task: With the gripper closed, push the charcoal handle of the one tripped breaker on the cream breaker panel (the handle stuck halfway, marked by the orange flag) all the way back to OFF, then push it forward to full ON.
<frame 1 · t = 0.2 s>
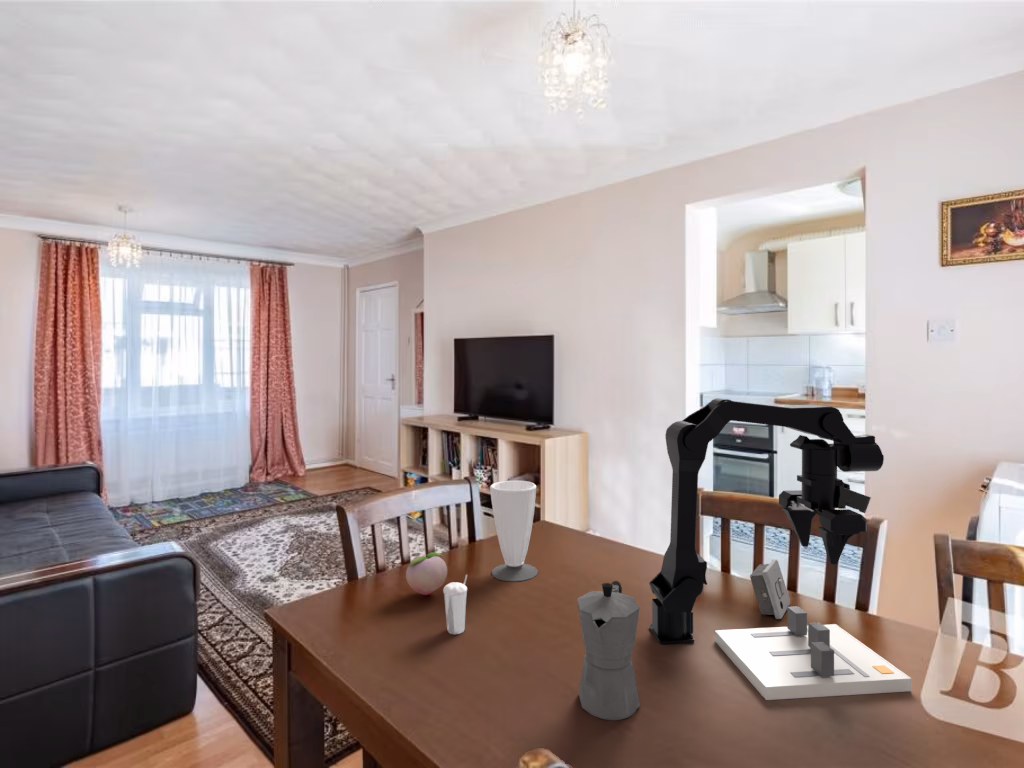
hand: (818, 554, 99), 14 cm above the table, tool pointing down, fingers open, 9 cm apart
tripped breaker handle: (822, 659, 82), point 4 cm above the table, slide at 3.5 cm
cup: (514, 573, 130), on the table
electrical switch: (771, 610, 108), on the table
coffeepot: (610, 698, 80), on the table
breaker panel: (804, 664, 88), on the table
milkshake: (457, 630, 102), on the table
decorative fruit: (428, 596, 117), on the table
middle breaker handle: (818, 638, 88), point 4 cm above the table, slide at 7.0 cm
far breaker handle: (797, 620, 94), point 4 cm above the table, slide at 7.0 cm
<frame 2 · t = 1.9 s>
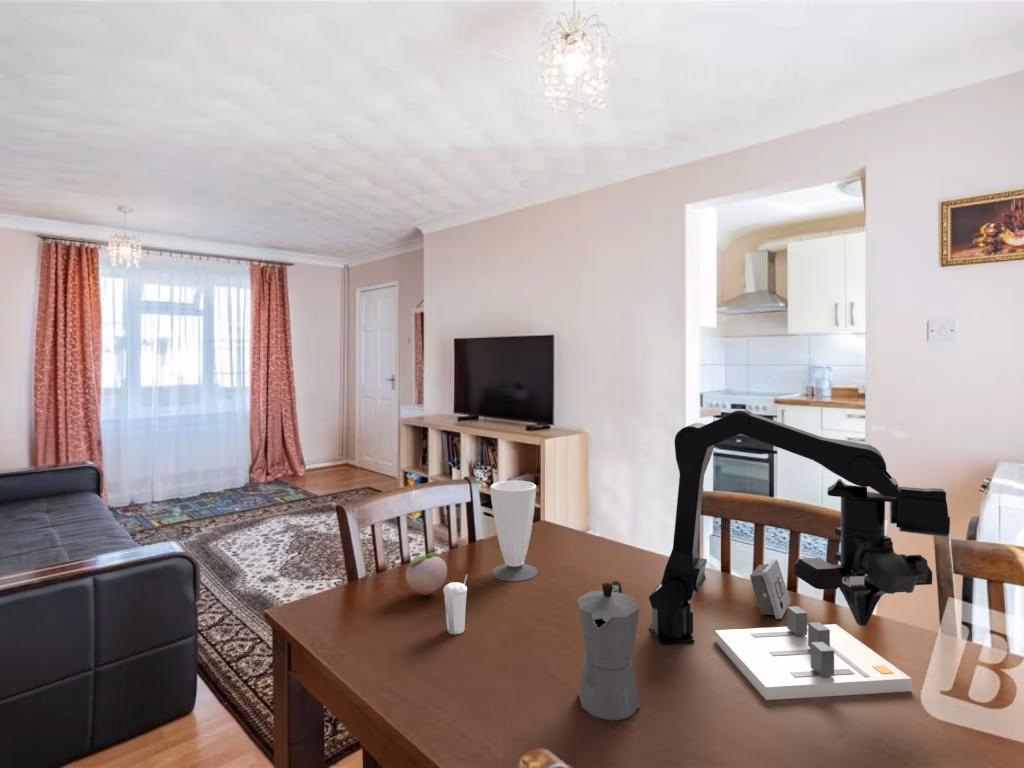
hand: (861, 624, 82), 9 cm above the table, tool pointing down, fingers closed
nothing on the table moved.
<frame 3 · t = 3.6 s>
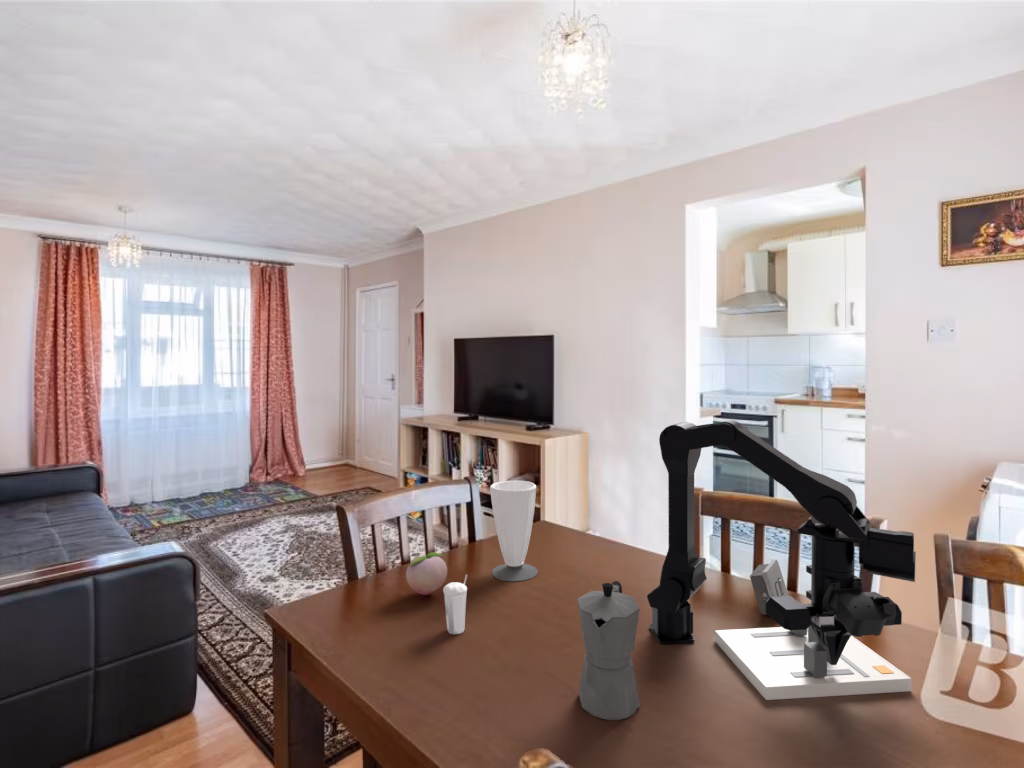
hand: (831, 663, 82), 3 cm above the table, tool pointing down, fingers closed
tripped breaker handle: (815, 659, 82), point 4 cm above the table, slide at 2.4 cm, touching gripper
everything else where it was.
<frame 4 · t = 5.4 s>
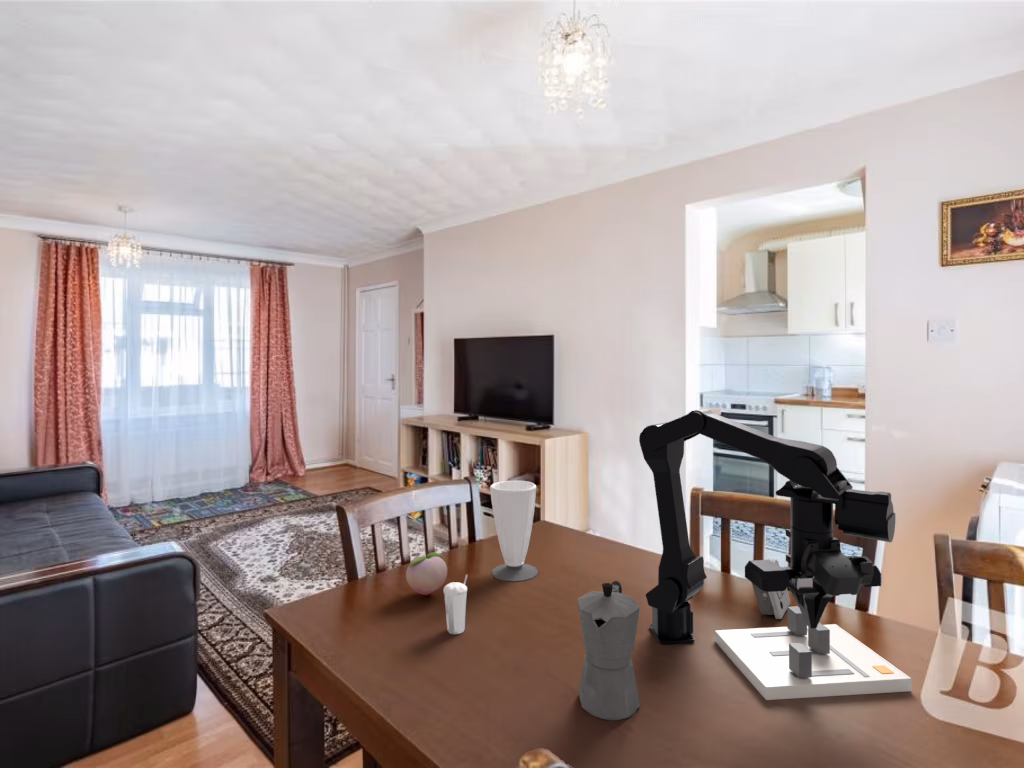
hand: (811, 627, 82), 9 cm above the table, tool pointing down, fingers closed
tripped breaker handle: (800, 660, 82), point 4 cm above the table, slide at -0.1 cm
everything else where it was.
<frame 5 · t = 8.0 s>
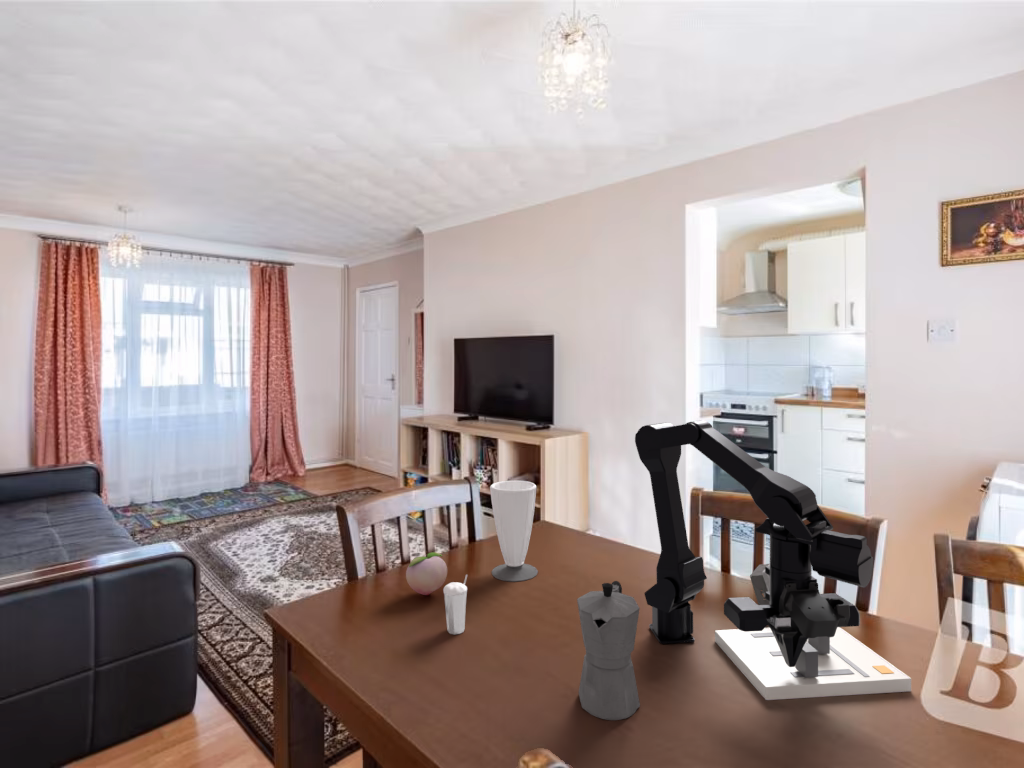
hand: (790, 665, 82), 4 cm above the table, tool pointing down, fingers closed
tripped breaker handle: (806, 659, 82), point 4 cm above the table, slide at 1.0 cm, touching gripper
everything else where it was.
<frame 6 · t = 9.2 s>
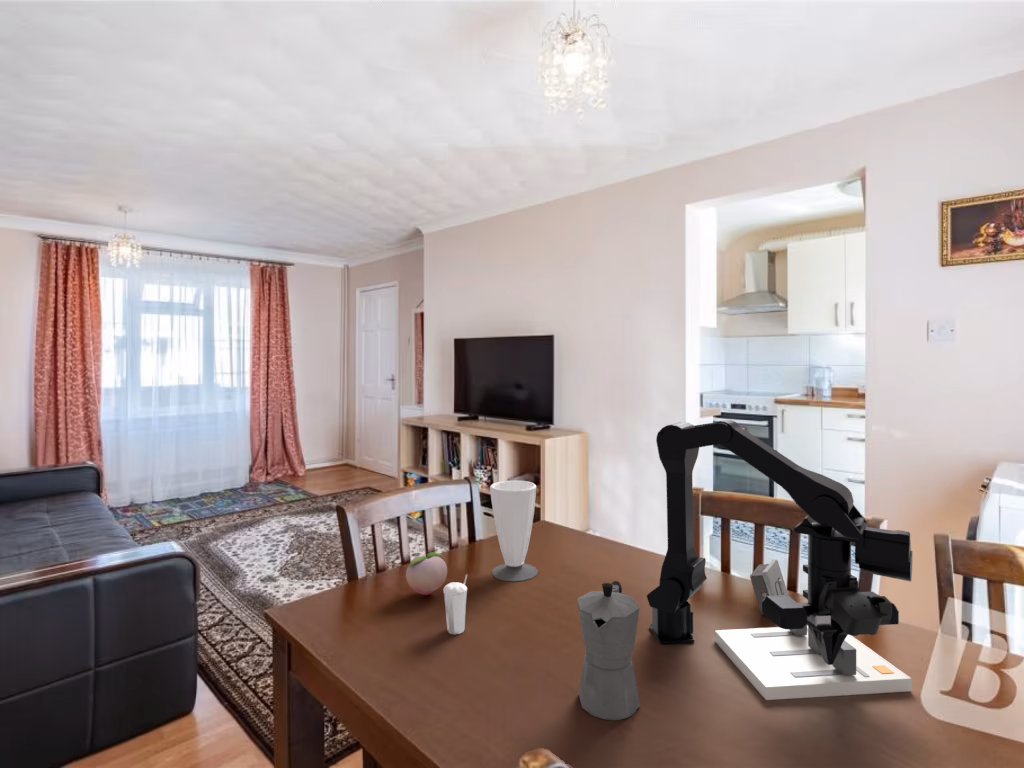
hand: (828, 663, 82), 4 cm above the table, tool pointing down, fingers closed
tripped breaker handle: (844, 657, 82), point 4 cm above the table, slide at 7.1 cm, touching gripper
everything else where it was.
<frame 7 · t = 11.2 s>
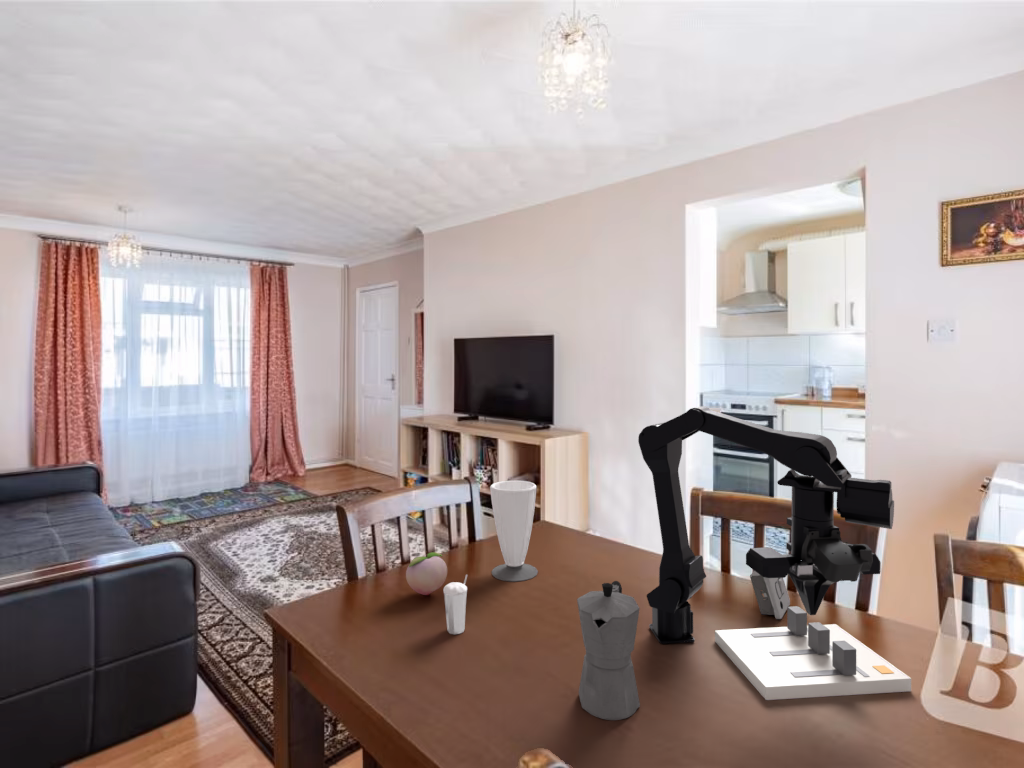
hand: (811, 614, 83), 11 cm above the table, tool pointing down, fingers closed
tripped breaker handle: (844, 657, 82), point 4 cm above the table, slide at 7.1 cm
everything else where it was.
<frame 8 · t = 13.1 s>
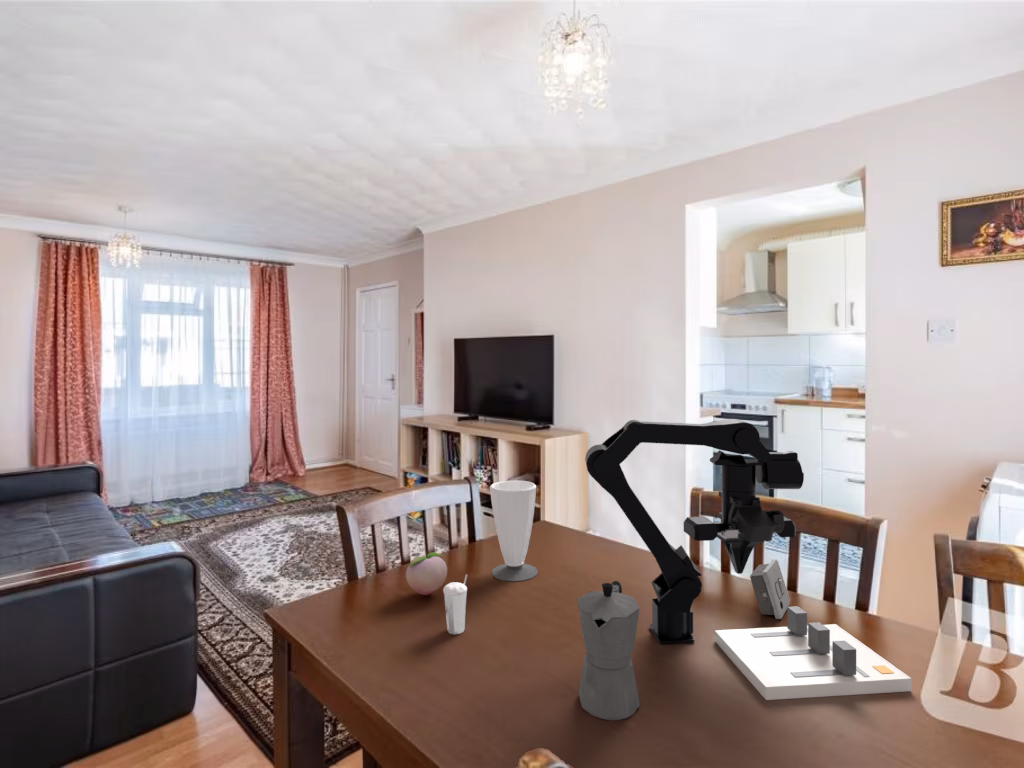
hand: (738, 572, 97), 12 cm above the table, tool pointing down, fingers closed
nothing on the table moved.
at the end: tripped breaker handle slide at 7.1 cm; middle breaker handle slide at 7.0 cm; far breaker handle slide at 7.0 cm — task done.
